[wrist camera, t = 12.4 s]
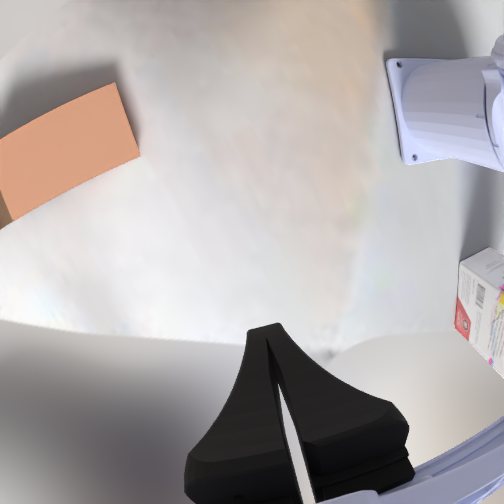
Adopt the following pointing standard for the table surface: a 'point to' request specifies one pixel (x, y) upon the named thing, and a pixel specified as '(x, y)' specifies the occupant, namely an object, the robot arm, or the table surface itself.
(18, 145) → the head domino
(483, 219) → the table surface
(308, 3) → the table surface
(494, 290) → the ink cartridge box
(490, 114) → the robot arm
